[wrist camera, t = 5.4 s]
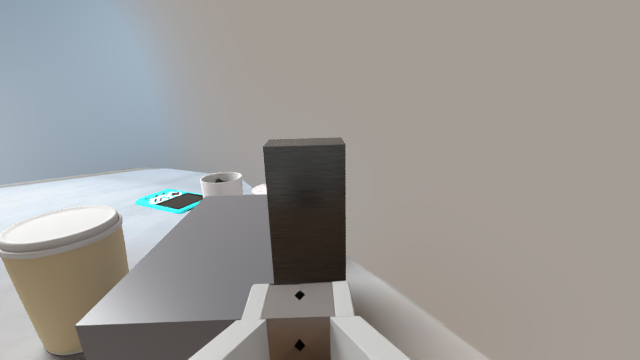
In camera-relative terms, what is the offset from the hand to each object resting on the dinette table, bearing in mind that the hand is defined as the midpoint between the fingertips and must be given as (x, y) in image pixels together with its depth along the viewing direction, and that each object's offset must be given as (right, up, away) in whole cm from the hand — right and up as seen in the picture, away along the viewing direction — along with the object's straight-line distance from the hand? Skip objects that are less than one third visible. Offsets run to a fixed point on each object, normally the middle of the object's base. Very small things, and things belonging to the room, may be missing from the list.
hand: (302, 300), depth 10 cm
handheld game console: (-33, -2, +60) cm, 68 cm away
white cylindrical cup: (-15, -5, +43) cm, 46 cm away
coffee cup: (-24, -12, +23) cm, 35 cm away
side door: (0, -12, +14) cm, 19 cm away
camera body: (-7, -12, +19) cm, 24 cm away
